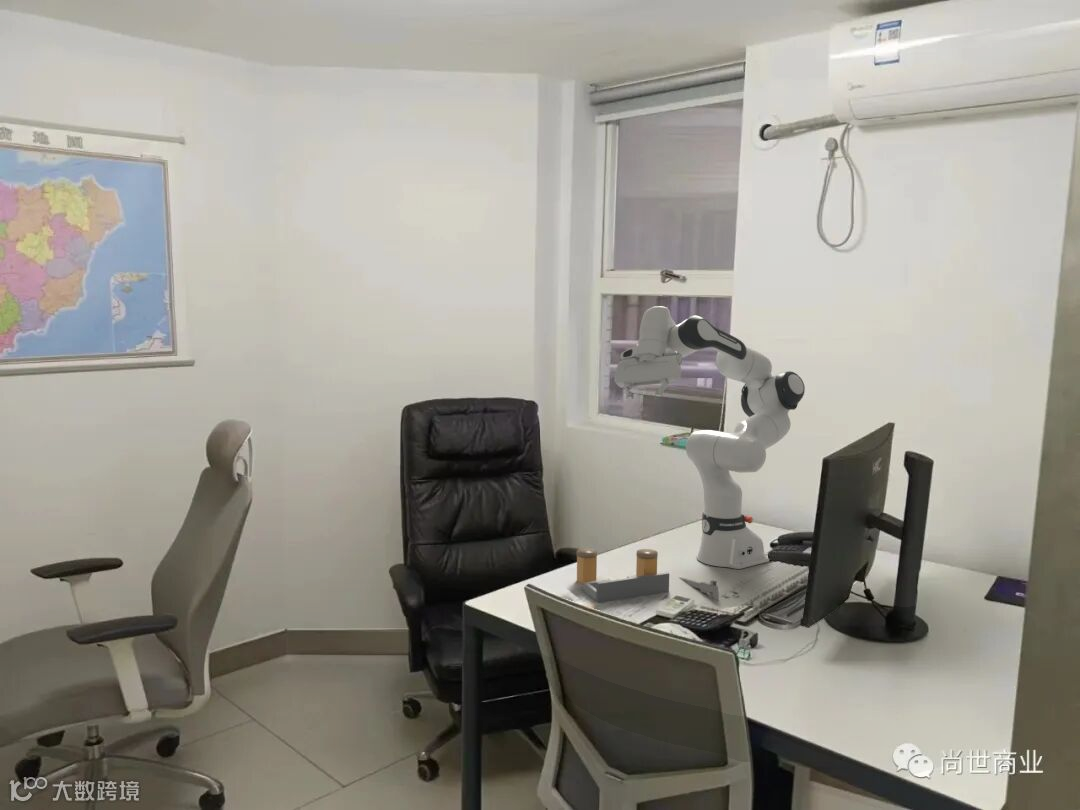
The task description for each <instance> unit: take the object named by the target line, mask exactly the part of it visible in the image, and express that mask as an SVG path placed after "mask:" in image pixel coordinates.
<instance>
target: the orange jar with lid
mask: <svg viewBox="0 0 1080 810" xmlns="http://www.w3.org/2000/svg"><path fill="white" fill-rule="evenodd" d="M658 554H659V552H658V551H657V550H656V549H655V550H654V549H651V548H641V549H637V550H636V566H635V567H636V570H635V571H636V574H635V575H636V577H638V576H645V575H652V574H658Z"/></svg>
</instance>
